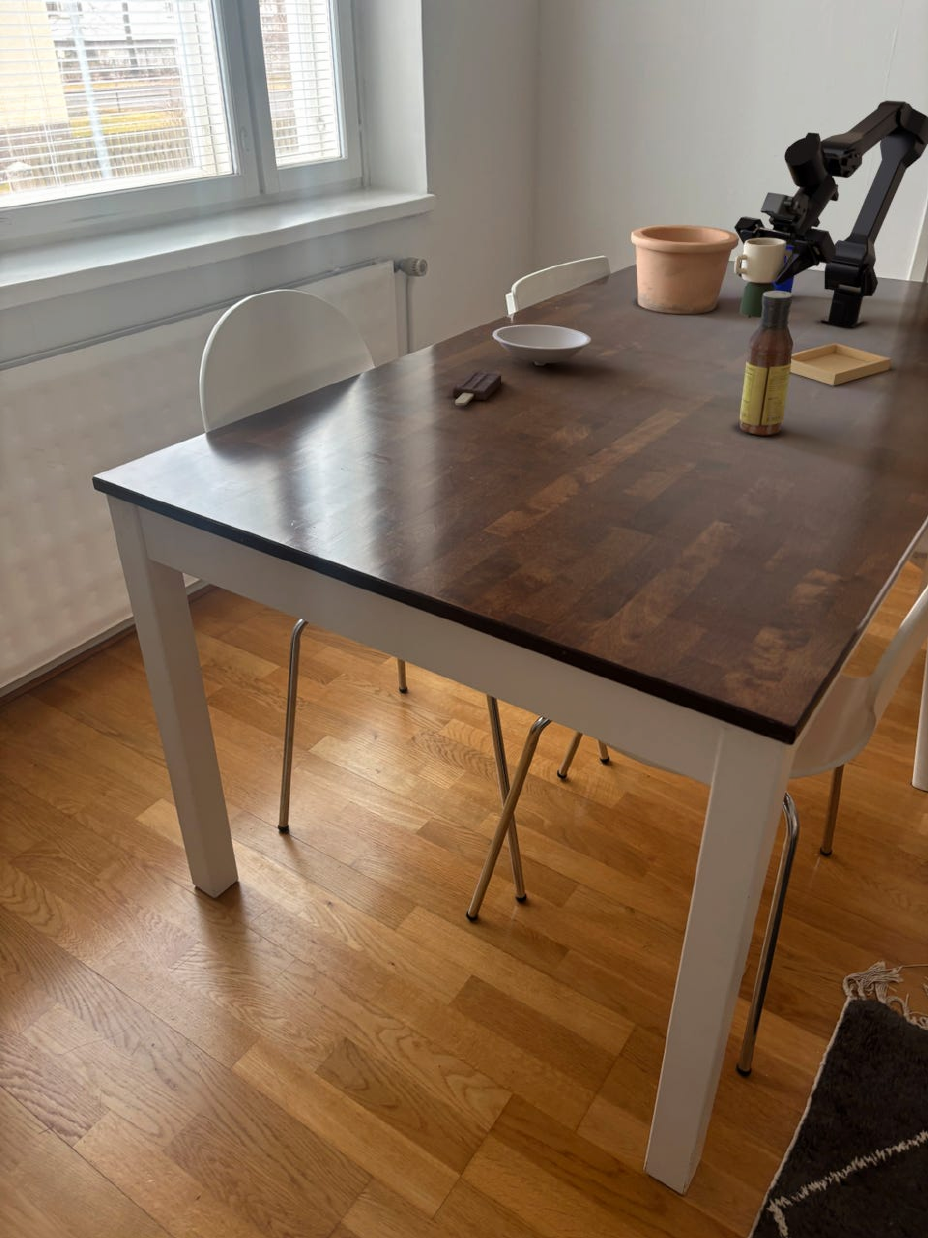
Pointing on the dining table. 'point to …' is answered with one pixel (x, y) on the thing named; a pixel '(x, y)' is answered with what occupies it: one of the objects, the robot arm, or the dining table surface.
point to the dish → (541, 342)
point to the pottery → (681, 267)
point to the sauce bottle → (768, 367)
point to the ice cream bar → (476, 386)
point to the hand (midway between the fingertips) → (757, 279)
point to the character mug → (760, 271)
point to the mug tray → (837, 363)
